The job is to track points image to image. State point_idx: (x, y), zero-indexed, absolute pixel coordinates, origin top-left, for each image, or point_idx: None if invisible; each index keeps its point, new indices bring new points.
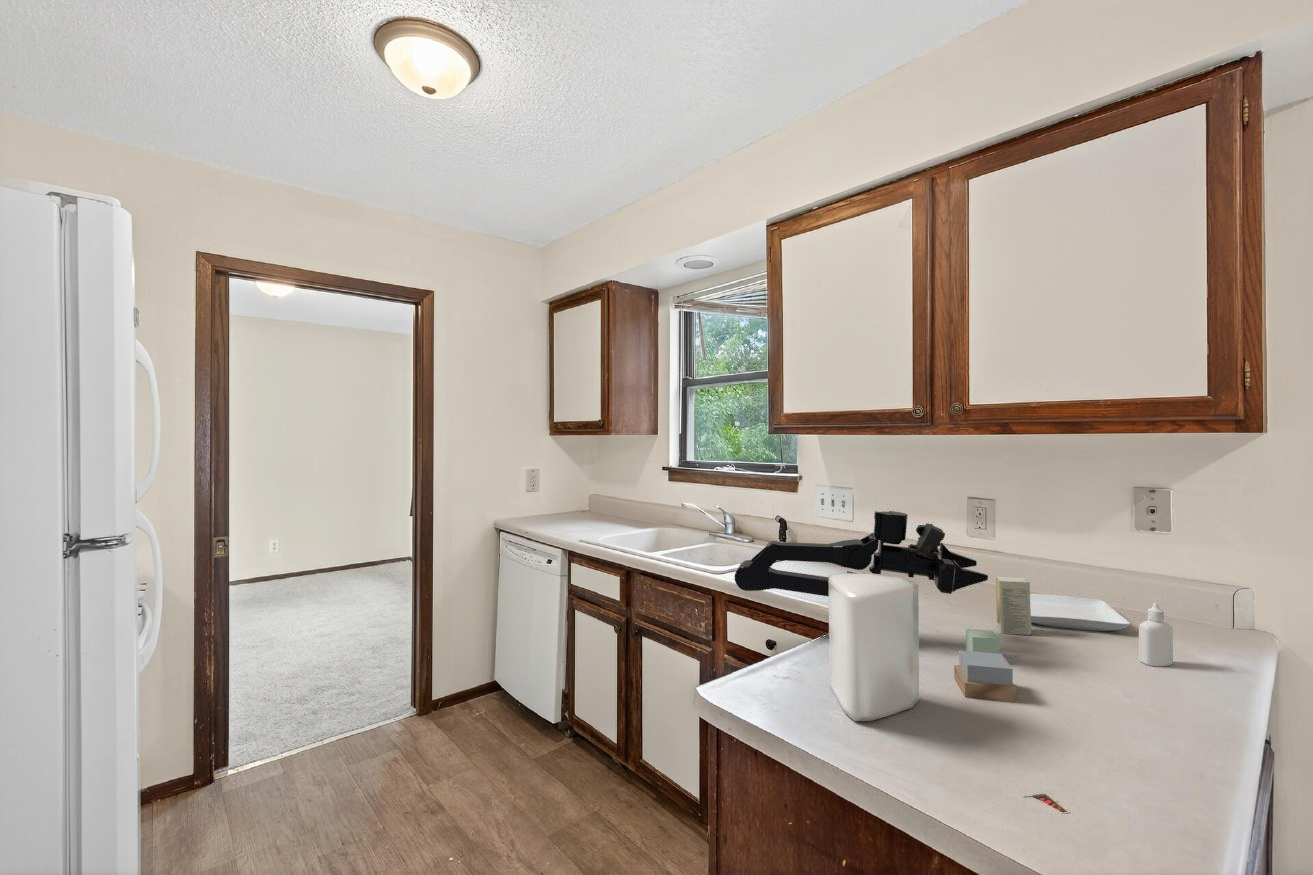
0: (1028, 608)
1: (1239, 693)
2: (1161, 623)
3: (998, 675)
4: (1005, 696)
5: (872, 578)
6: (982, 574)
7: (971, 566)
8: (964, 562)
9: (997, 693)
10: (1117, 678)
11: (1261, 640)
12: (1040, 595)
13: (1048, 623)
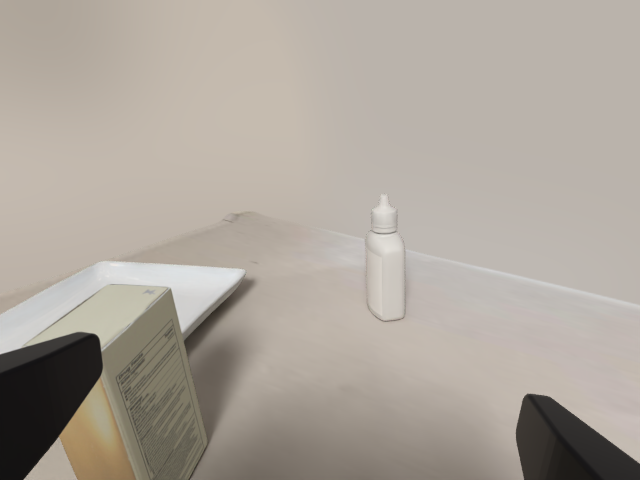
0: (188, 375)
1: (492, 279)
2: (396, 230)
3: None
4: None
5: None
6: (596, 432)
7: (75, 410)
8: (2, 434)
9: None
10: (513, 384)
11: (275, 219)
12: (1, 318)
13: None
